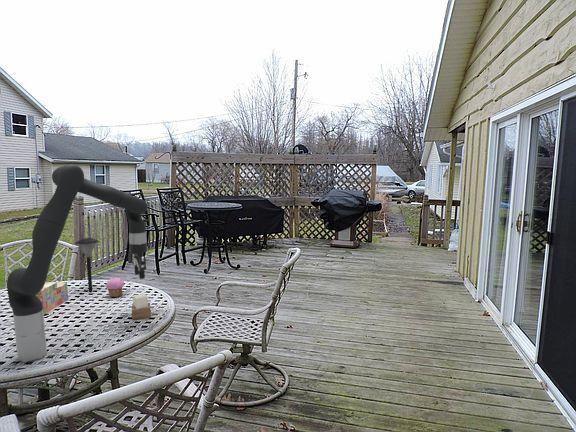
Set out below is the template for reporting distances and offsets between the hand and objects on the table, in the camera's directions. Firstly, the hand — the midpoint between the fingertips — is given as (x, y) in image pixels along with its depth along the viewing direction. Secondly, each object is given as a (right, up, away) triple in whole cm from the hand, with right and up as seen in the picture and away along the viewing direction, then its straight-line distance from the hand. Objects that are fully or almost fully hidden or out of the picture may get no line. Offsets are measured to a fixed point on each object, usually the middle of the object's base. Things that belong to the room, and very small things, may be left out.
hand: (139, 276), depth 185 cm
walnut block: (0, -19, +3) cm, 19 cm away
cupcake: (-24, -16, +31) cm, 42 cm away
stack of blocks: (-50, -18, +15) cm, 55 cm away
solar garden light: (-42, -15, +38) cm, 58 cm away
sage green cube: (-5, -18, +13) cm, 22 cm away
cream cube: (0, -14, +2) cm, 14 cm away
